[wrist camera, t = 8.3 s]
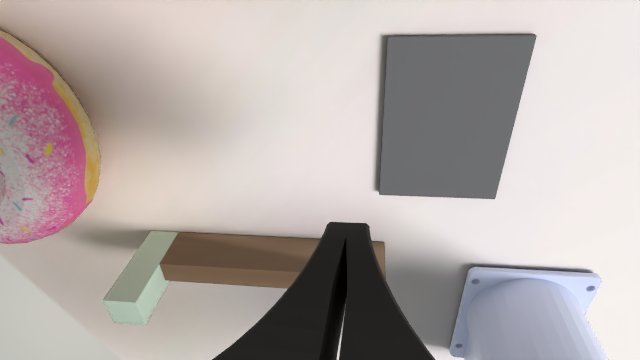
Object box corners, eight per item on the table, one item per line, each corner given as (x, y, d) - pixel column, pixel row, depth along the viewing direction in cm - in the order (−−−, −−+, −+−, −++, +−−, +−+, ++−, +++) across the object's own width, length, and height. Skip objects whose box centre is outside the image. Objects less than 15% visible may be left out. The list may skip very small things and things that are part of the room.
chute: (383, 264, 27) (384, 343, 22) (158, 251, 29) (114, 322, 24) (409, -127, 15) (425, -141, 10) (29, -105, 17) (-110, -110, 12)
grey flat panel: (493, 195, 23) (495, 199, 23) (379, 191, 24) (379, 194, 24) (534, 34, 18) (536, 35, 18) (387, 35, 19) (387, 37, 19)
